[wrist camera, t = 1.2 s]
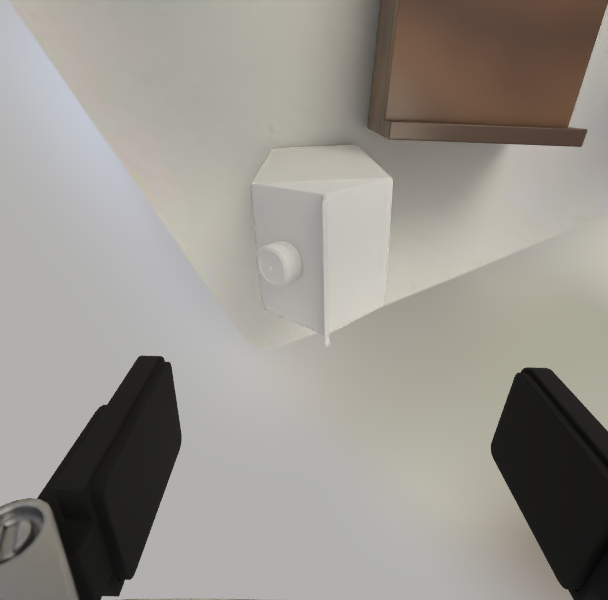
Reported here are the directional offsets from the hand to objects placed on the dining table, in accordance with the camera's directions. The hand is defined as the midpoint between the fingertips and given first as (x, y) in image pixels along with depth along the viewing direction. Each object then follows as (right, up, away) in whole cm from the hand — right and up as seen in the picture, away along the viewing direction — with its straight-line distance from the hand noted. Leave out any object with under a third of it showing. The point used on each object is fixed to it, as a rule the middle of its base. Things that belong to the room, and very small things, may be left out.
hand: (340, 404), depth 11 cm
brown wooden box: (+10, +23, +18) cm, 31 cm away
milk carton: (0, +13, +23) cm, 27 cm away
